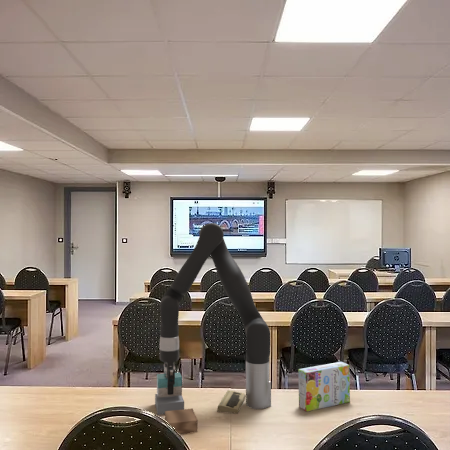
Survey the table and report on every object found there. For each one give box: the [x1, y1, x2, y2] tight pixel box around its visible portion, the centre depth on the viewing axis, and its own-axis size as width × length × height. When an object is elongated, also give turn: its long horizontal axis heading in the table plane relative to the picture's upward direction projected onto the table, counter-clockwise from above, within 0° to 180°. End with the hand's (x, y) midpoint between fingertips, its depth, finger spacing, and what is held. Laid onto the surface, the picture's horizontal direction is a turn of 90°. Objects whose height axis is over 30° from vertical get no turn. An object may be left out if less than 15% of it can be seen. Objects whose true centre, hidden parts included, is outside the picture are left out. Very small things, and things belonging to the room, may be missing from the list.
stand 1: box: [154, 393, 185, 416], centre depth 172 cm, size 10×10×4 cm
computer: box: [216, 389, 246, 415], centre depth 175 cm, size 16×8×3 cm, turn 166°
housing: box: [156, 371, 183, 398], centre depth 172 cm, size 9×6×7 cm, turn 104°
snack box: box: [297, 361, 351, 412], centre depth 175 cm, size 21×6×15 cm, turn 115°
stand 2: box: [164, 408, 199, 435], centre depth 156 cm, size 10×10×4 cm
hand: (169, 391), depth 172 cm, fingers closed on housing, 5 cm apart
